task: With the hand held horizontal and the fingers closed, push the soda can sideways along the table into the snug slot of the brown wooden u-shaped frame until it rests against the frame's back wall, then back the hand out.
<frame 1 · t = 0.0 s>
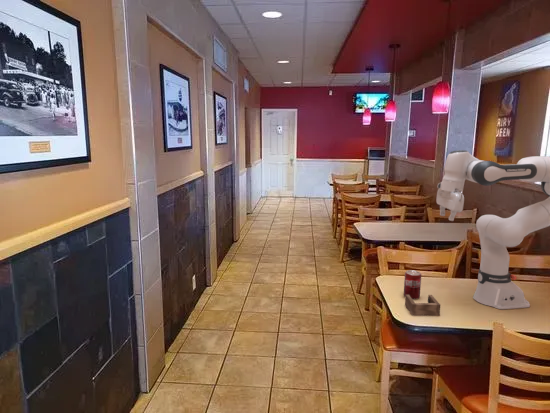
hand: (446, 218, 169), 39 cm above the table, tool pointing down, fingers open, 8 cm apart
brown wooden u-shaped frame: (421, 310, 166), on the table
soda can: (411, 297, 180), on the table
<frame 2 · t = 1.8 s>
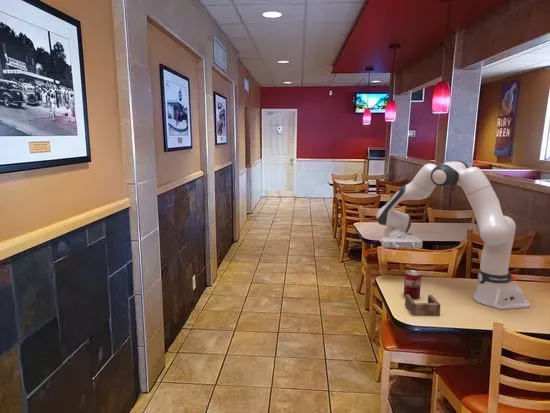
hand: (405, 247, 189), 20 cm above the table, tool horizontal, fingers open, 6 cm apart
nothing on the table moved.
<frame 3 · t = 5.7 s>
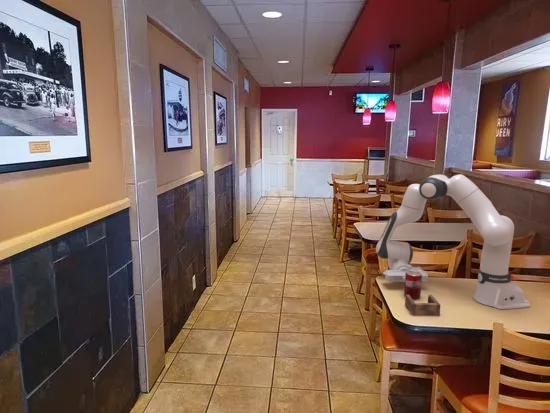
hand: (410, 282, 182), 6 cm above the table, tool horizontal, fingers closed, pressing on soda can
soda can: (412, 297, 179), on the table, touching gripper
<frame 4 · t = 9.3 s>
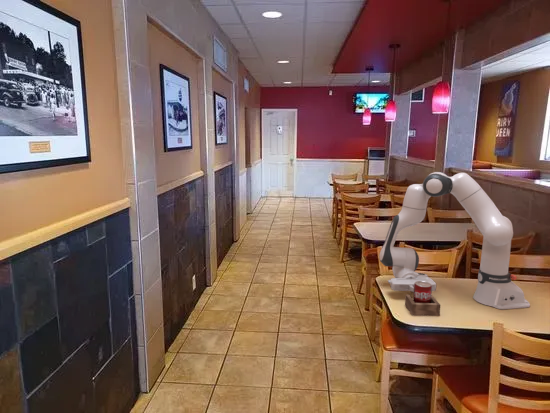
hand: (418, 291, 171), 6 cm above the table, tool horizontal, fingers closed
soda can: (421, 310, 167), on the table
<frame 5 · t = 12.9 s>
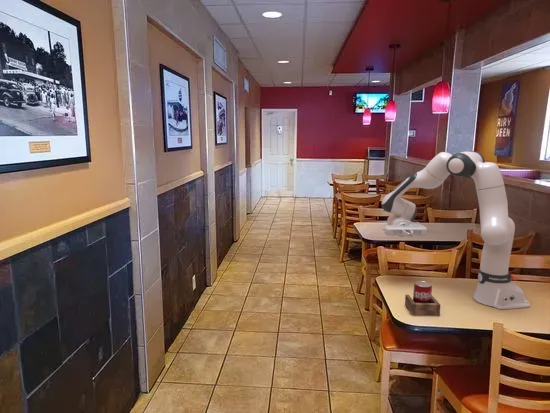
hand: (410, 234, 183), 28 cm above the table, tool horizontal, fingers closed
nothing on the table moved.
at the end: soda can 0.6 cm from the target spot, on the table; soda can tilted 0°; the gripper is holding nothing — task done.
